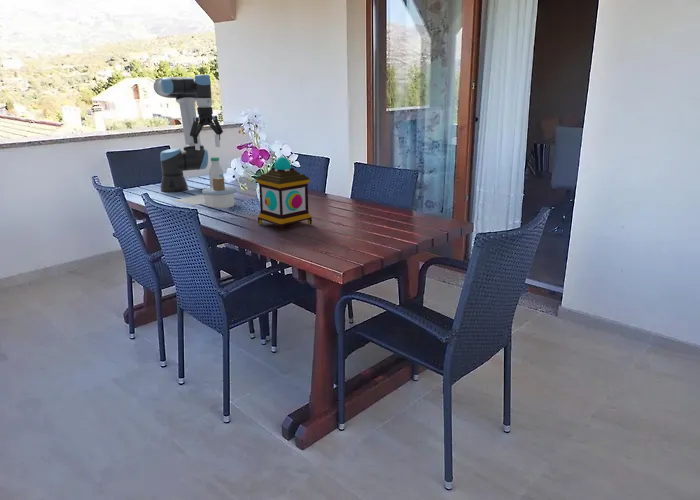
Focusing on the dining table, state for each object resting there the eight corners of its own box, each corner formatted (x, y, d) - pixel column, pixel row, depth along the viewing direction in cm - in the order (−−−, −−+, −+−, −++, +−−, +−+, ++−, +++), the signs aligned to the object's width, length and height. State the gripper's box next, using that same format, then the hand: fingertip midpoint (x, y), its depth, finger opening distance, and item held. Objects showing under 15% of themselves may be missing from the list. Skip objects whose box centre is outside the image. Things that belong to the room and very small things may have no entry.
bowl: (200, 206, 258) (199, 192, 256) (221, 200, 269) (220, 188, 267) (219, 209, 250) (218, 195, 248) (240, 204, 262) (239, 191, 259)
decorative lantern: (253, 224, 225) (249, 156, 215) (288, 216, 238) (286, 152, 228) (280, 233, 211) (277, 161, 202) (316, 224, 224) (315, 157, 215)
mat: (173, 201, 267) (173, 200, 267) (200, 195, 282) (200, 194, 282) (196, 205, 258) (196, 204, 258) (222, 199, 272) (222, 198, 272)
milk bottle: (216, 194, 284) (213, 159, 278) (207, 192, 289) (204, 157, 282) (227, 192, 290) (224, 157, 284) (218, 190, 294) (215, 156, 288)
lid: (194, 192, 255) (193, 179, 253) (220, 187, 269) (219, 174, 266) (218, 196, 246) (217, 182, 244) (243, 190, 260) (242, 177, 258)
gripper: (190, 108, 246) (193, 152, 253) (227, 105, 265) (230, 146, 273) (179, 107, 250) (183, 150, 257) (218, 104, 269) (220, 145, 277)
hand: (207, 148), depth 265 cm, fingers open, 13 cm apart
